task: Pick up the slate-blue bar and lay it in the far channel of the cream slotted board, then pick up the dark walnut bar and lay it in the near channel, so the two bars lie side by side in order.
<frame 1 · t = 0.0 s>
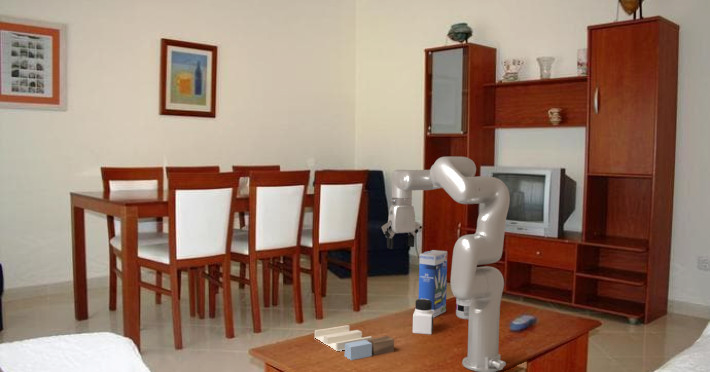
hand: (400, 247, 224), 31 cm above the table, tool pointing down, fingers open, 9 cm apart
string lights box: (431, 313, 249), on the table
slate bar: (358, 356, 195), on the table
medicine bottle: (422, 331, 223), on the table
slot board: (342, 342, 209), on the table
walnut bar: (380, 352, 200), on the table
supplement can: (466, 317, 244), on the table
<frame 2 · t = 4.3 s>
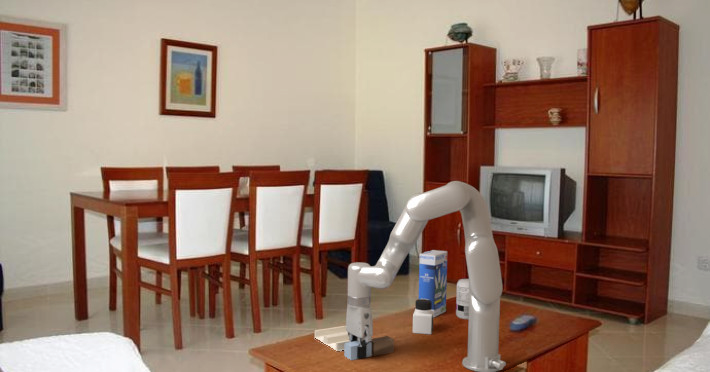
hand: (357, 355, 195), 0 cm above the table, tool pointing down, fingers closed on slate bar, 4 cm apart
slate bar: (357, 356, 195), on the table, touching gripper
everything else where it was.
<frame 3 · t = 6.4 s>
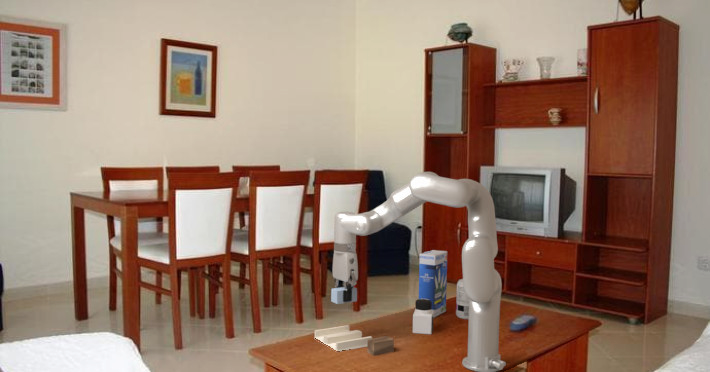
hand: (343, 299, 206), 16 cm above the table, tool pointing down, fingers closed on slate bar, 4 cm apart
slate bar: (344, 301, 206), point 15 cm above the table, touching gripper
everything else where it was.
when the fingers open (3 cm above the table, at t = 9.0 s): slate bar drops 2 cm, resting on slot board.
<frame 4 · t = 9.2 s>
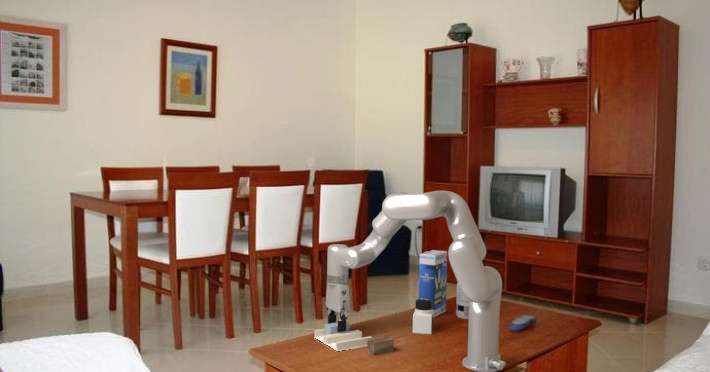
hand: (336, 328, 213), 4 cm above the table, tool pointing down, fingers open, 6 cm apart
slate bar: (337, 336, 213), point 1 cm above the table, touching slot board
everything else where it was.
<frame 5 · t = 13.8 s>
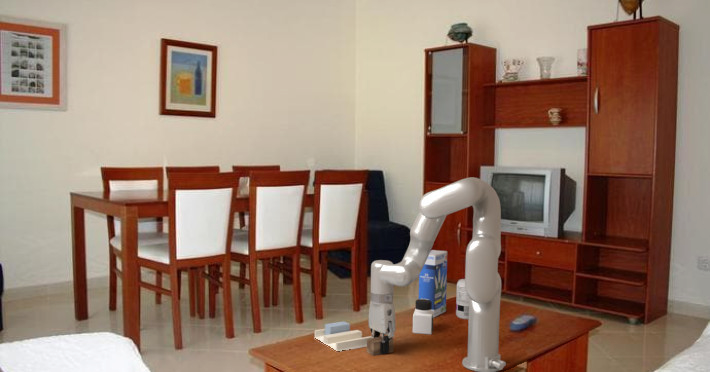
hand: (380, 350, 199), 0 cm above the table, tool pointing down, fingers closed on walnut bar, 4 cm apart
walnut bar: (379, 352, 199), on the table, touching gripper
everything else where it was.
when the fingers open (3 cm above the table, at t = 18.1 s): walnut bar drops 2 cm, resting on slot board.
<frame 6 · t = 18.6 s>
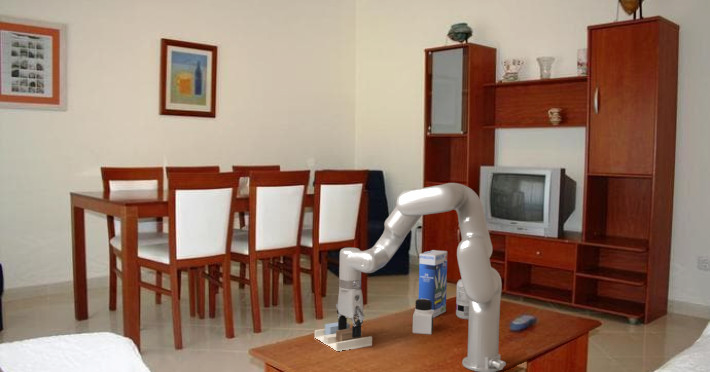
hand: (349, 333, 205), 4 cm above the table, tool pointing down, fingers open, 9 cm apart
walnut bar: (348, 343, 205), point 1 cm above the table, touching slot board
everything else where it was.
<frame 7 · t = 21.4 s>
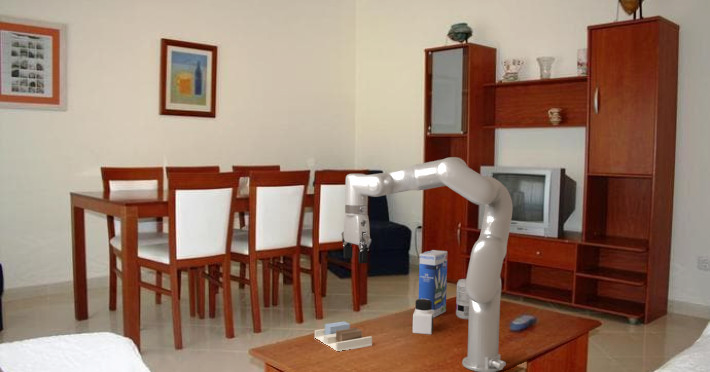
hand: (355, 260, 201), 30 cm above the table, tool pointing down, fingers open, 9 cm apart
nothing on the table moved.
at the end: slate bar inside the target area on the slot board (0.2 cm from its centre), point 0.8 cm above the slot board's base; walnut bar inside the target area on the slot board (0.2 cm from its centre), point 0.8 cm above the slot board's base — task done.
